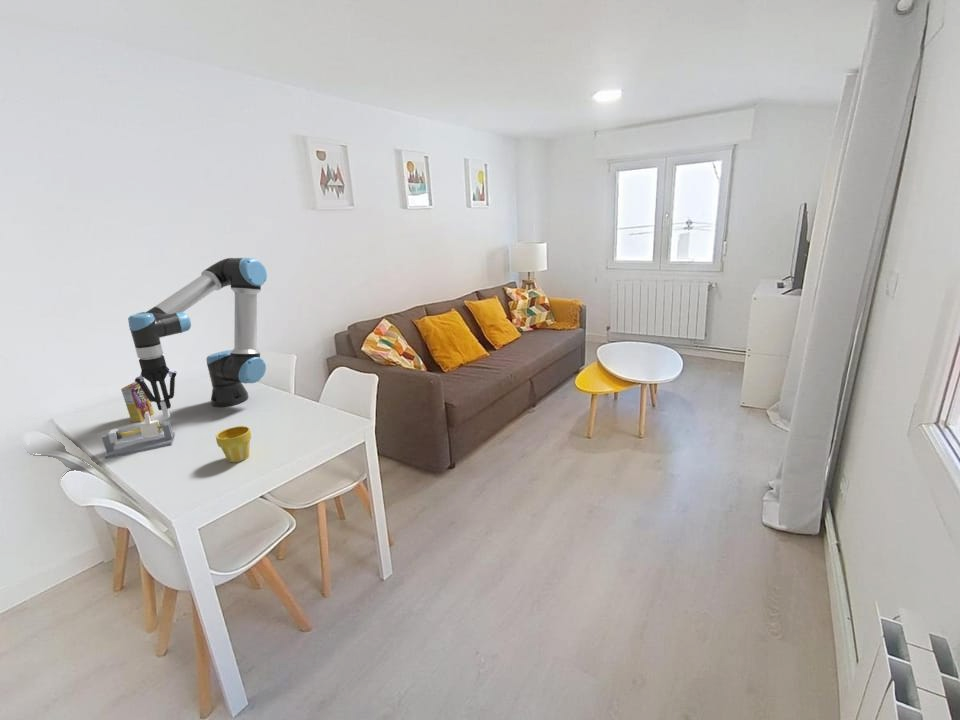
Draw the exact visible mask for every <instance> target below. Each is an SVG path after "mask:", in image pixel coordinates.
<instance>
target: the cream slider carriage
mask: <svg viewBox="0 0 960 720" xmlns="http://www.w3.org/2000/svg"><path fill="white" fill-rule="evenodd" d="M144 417H145V419H144V421H145V422H142V423H140V426H139V429H140V430H141V436H142V439H143V438H148V437H153V436H158V435H161V431H162V428H161V429H158V426H160V422H159V421H160V420H159V419H155V420H151V415H149V412H146V413H145V415H144Z"/></svg>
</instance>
